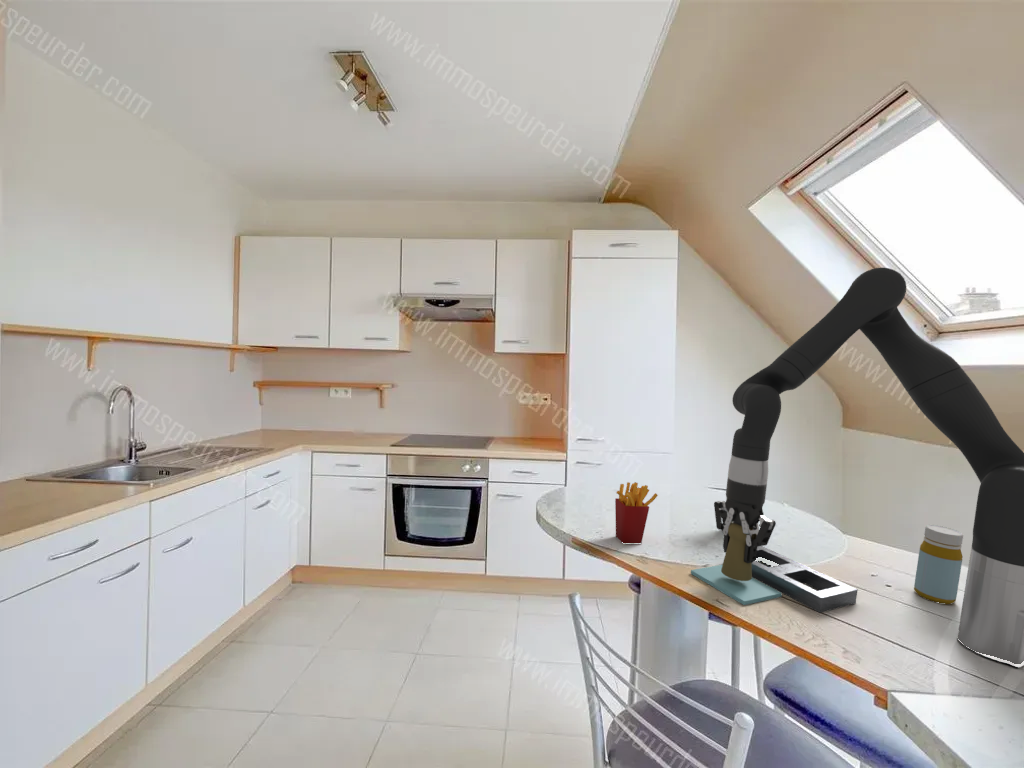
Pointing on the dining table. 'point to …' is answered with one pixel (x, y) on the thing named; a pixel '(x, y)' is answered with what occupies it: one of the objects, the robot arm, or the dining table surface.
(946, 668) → the dining table surface
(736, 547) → the cork
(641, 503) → the french fries
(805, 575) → the two-slot holder tray
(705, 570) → the board
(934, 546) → the bottle
